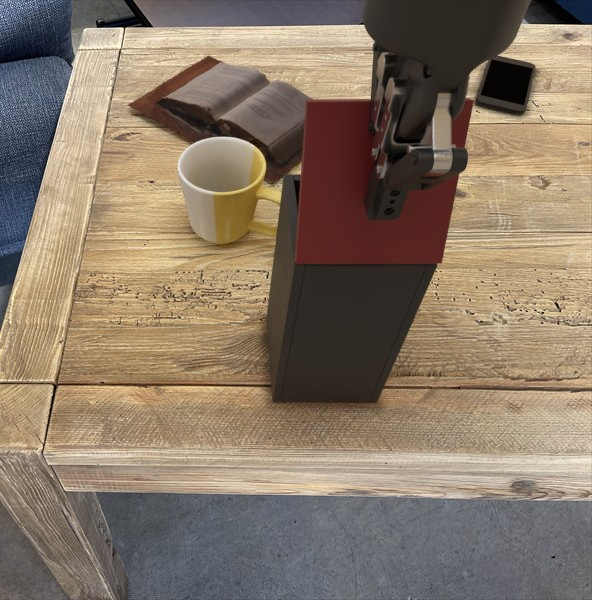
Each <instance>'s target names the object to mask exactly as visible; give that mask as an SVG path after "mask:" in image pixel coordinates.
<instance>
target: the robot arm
mask: <svg viewBox="0 0 592 600" xmlns="http://www.w3.org/2000/svg"><path fill="white" fill-rule="evenodd" d="M531 2H532V0H365V1H364V6H363V11H362V22H363V26H364V29H365V31H366V33H367V34H368V36H369V37H370V38H371V39H372V40H373V41H374V42H373V44H372V66H371V67H372V68H371V86H370V99H371V101H370V118H369V124H368V130H369V134H370V136H375V137H374V142H373V146H372V148H371V156H372V161H373V162H374V164H373V167H372V171H371V175H370V178H369V182H368V186H367V190H366V193H365V197H364V206H365V210H366V214H367V218H368V219H370V220H395V219H397V218H398V217H400V215H401V212H402V209H403V206H404V203H405V200H406V197H407V194H408V191H409V190H429V189H431V188H433V187H435V186H437V185H439V184H441V183H443V182H444V181H446V180H448V179H450V178H452V177H454V176H456V175H458V174H459V175H460V174H463V172H465V170H466V169H467V166H468V162H469V153H468V149H467V148H466V147H465V148H456V145H455V144H451V122H452V121H453V120H454V119H456V118H457V117H458V116H459V114H460V113H461V111H462V109H463V107H464V104H465V100H466V98H467V96H468V92H469V87H470V86H469V85H470V84H469V81H470V76H471V73H472V72H473V71H474V70H475V69H478V67H480V66H481V65H483V64H484V63H487V62H488V60H489V59H491V58H494V57H496V56H500V55H501V54H502V53H504V52H505V51H506V50H507V49H509V48H510V46H511V45H512V44H513V43H514V42H515V40H516V38H517V35H518V33H519V31H520V27H521V25H522V23H523V21H524V19H525V17H526V14H527V12H528V8H529V6H530V4H531Z"/></svg>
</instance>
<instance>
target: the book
mask: <svg viewBox="0 0 592 600" xmlns="http://www.w3.org/2000/svg"><path fill="white" fill-rule="evenodd" d="M306 100H314V98H312V97H310V96H309V95H307V94H305V92H302V91H301V90H299V89H298V88H296V87H294V86H293V85H291V84H290V83H288V82H285V81H281V80H278V79H276V80H273V81H272V82H270V80H269V79H268V78H267V76H266V74H265V73H263V72H262V71H261V72H260V71H259V70H258V69H256V68H251V67H246V66H240V65H235V64H230V63H226V62H224V61H222V60H218V59H217V58H215V57H212V56H210V55H207V56H206V57H204V58H202V59H200V60H199V61H197V62H195V63H193V64H192V65H190V66H187V68H185V69H183V70H181V71H180V72H179V73H177V74H175V75H174V76H173V77H171V78H169V79H167V80H166V81H164V82H162V83H161V84H159V85H157V86H156V87H155V88H154V89H152V90H150V91H147V92H146V93H145V94H144V95H141V97H138V98H137V99H134V100H133V101H132V102H129V103H128V104H127V107H129V108H130V109H132V110H135V111H136V112H139V113H140V114H141V115H143V116H146V117H148V118H150V119H152V120H154V121H155V122H157V123H160V124H162V125H164V126H165V127H167V128H169V129H170V130H172V131H175V132H177V133H178V134H180V135H182V136H183V137H185V138H187V139H189V140H191V141H193V142H195V143H196V142H198V141H201V140H204V139H207V138H213V137H233V138H238V139H241V140H244V141H247V142H249V143H251V141H253V140H255V141H257V142H259V143H260V144H261V146H258V147H257V148H258V149H259V150H260V152H261V153H262V154H263V156H264V158H265V161H266V172H265V177H264V179H266V180H267V181H270V182H271V183H272V184H273V183H275V182H277V181H278V179H280V178H281V177H283V175H284V174H287V172H288V171H290V170H291V169H292V168H293V167H294V166H295V165H296V164H298V163H299V162H300V161H302V151H303V137H304V123H305V109H306Z"/></svg>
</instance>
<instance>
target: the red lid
mask: <svg viewBox="0 0 592 600" xmlns="http://www.w3.org/2000/svg"><path fill="white" fill-rule="evenodd" d="M370 101H371V98H334V99H333V98H331V99H329V98H328V99H323V98H322V99H321V98H320V99H317V98H316V99H313V100H306V109H305V123H304V137H303V151H302V160H301V166H300V174H301V178H300V192H299V206H298V220H297V234H296V248H295V262H296V264H437V265H439V264H440V265H441V264H443V259H444V254H445V248H446V244H447V240H448V239H447V238H448V234H449V229H450V224H451V218H452V214H453V210H454V209H453V208H454V203H455V198H456V193H457V188H458V183H459V179H460V174H458V175H456V176H454V177H452V178H450V179H448V180H446V181H444V182H443V183H441V184H439V185H437V186H435V187H433V188H431V189H429V190H409V191H408V194H407V197H406V200H405V203H404V206H403V209H402V212H401V215H400V217H398V218H397V219H395V220H370V219H368V218H367V214H366V210H365V206H364V197H365V193H366V190H367V186H368V182H369V178H370V175H371V171H372V167H373V164H374V162H373V161H372V156H371V148H372V146H373V142H374V137H375V136H370V134H369V130H368V124H369V118H370ZM474 102H475V99H472V98H470V97H466V100H465V104H464V107H463V109H462V111H461V113H460V114H459V116H458V117H457V118H456V119H454V120H453V121H452V122H451V144H455V145H456V148H466V143H467V138H468V132H469V127H470V123H471V117H472V112H473V107H474Z"/></svg>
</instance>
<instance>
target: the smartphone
mask: <svg viewBox="0 0 592 600" xmlns="http://www.w3.org/2000/svg"><path fill="white" fill-rule="evenodd" d="M535 73H536V65H535V64H534V63H533V62H529V61H525V60H520V59H516V58H511V57H508V56H507V57H506V56H502V55H498V56H496V57H494V58H491V59H489V60H488V61H486V66H485V69H484V72H483V74H482V78H481V80H480V83H479V87H478V89H477V92H476V96H475V99H474V102H475V103H476V104H477V105H480V106H483V107H487V108H490V109H495V110H499V111H503V112H507V113H512V114H517V115H523V114H525V112H526V111H527V108H528V104H529V100H530V96H531V90H532V86H533V82H534V77H535Z"/></svg>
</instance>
